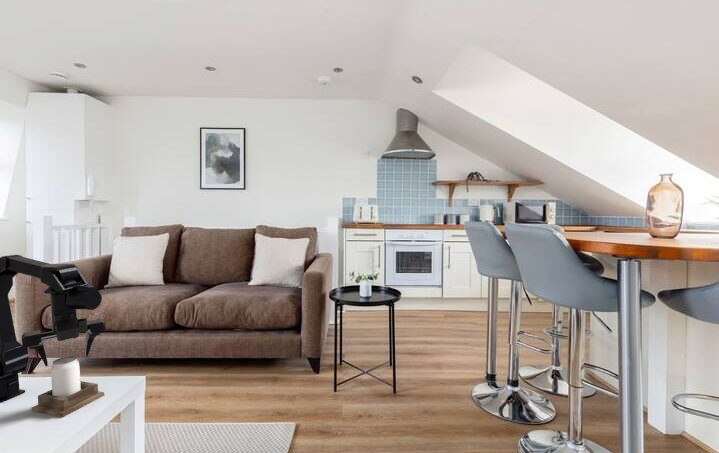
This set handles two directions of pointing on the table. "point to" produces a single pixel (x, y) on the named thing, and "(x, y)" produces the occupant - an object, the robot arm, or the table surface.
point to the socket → (67, 400)
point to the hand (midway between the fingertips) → (67, 361)
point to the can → (65, 376)
